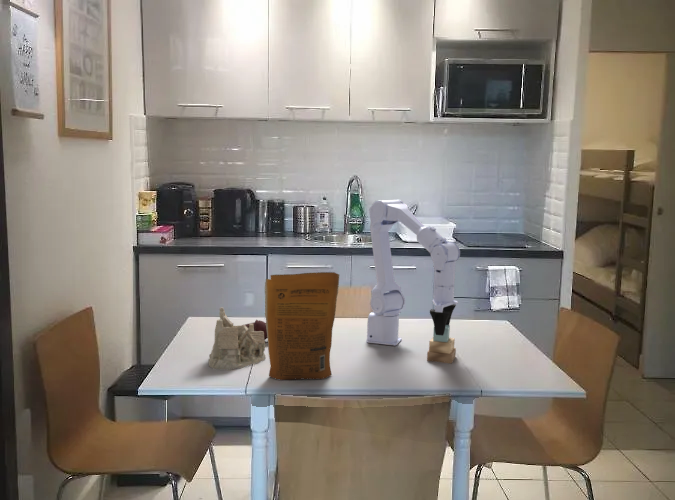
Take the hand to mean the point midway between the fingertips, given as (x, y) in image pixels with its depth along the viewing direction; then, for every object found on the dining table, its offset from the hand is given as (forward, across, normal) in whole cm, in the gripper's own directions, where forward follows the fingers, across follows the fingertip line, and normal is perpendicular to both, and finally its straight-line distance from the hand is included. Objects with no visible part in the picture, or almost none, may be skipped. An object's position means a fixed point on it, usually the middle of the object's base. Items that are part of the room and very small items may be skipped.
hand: (442, 331), depth 196 cm
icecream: (+8, -4, +56) cm, 57 cm away
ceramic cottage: (+8, -24, +53) cm, 59 cm away
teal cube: (+2, 0, 0) cm, 2 cm away
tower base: (+8, 0, 0) cm, 8 cm away
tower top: (+5, 0, 0) cm, 5 cm away
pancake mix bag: (+8, -31, +31) cm, 45 cm away
